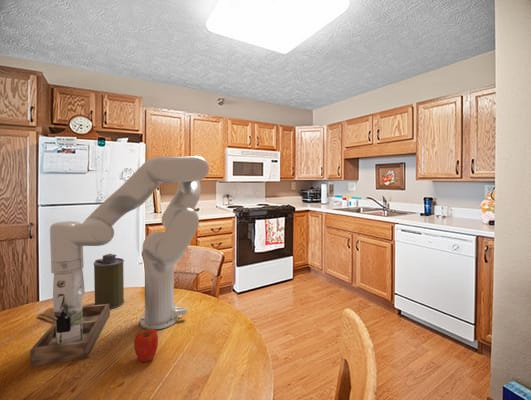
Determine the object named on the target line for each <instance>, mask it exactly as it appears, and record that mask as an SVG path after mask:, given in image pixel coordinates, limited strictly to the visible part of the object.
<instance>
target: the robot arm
mask: <svg viewBox="0 0 531 400" xmlns="http://www.w3.org/2000/svg"><path fill="white" fill-rule="evenodd" d="M209 172H210V166H209V163H208V161H207V160H205V158H204V157H202V156H199V155H195V156H194V155H187V156H186V155H185V156H164V155H163V156H156V157H151V158H149V159H147V160H146V161H145V162H143V164H142V165H141V166H140V167H139V168H138V169H137V170H136V171H134V173H133V174H132V175H130V177H129V178H128V179H127V180H126V181H125V182H124V183H123V184H122V185H121V186H120V187H119V188H118V189H117V190H115V191H114V192H113V193H112V194H111V195H110V196H109V197H107V198H106V200H104V201H103V202H102V203H101V204H100V205H98V206H97V207H96V209H95V210H93V211H92V213H90V214H89V215H88V217H87V218H85V220H84V221H83V222H82V223H81V222H80V221H71V220H70V221H69V220H68V221H58V222H54V223H52V224H51V225H50V227H49V244H50V273H52V274H53V280H52V281H53V282H52V283H53V284H52V285H53V286H52V300H53V301H52V303H53V305H52V306H53V308H54V313H55V319H56V332H57V333H62V332H69V331H70V330H71V321H70V317H69V312H70V307H71V308H72V307H74V306H76V305H77V303H78V292H79V291H80V292H81V293H82V299H83V298H84V297H85V295H86V294H85V293H86V292H85V280H84V278H85V277H84V271H83V269H84V247H100V246H104V245H107V244H109V243H110V242H111V241H113V240H112V239H114V236H115V228H114V227H113V226H114V225H115V224H116V223H117V222H118V221H119V220H120V219H121V218H122V217H123V216H125V215H126V214H128V213H129V212H131V211H134V210H137V209H138V208H140V207H141V206H143V205H144V204H145V203H146V202H147V200H148V199H149V198H150V197H151V195H152V194H153V193H154V192H155V191H156V190H157V189H158V188H159V187H160V186H161V185H162V184H171V183H172V184H173V183H177V184H178V186H177V189H176V192H175V194H174V196H173V198H172V199H171V200H170V202H169V204H168V206H166V209H165V210H164V212H163V213H162V216H161V224H162V226H163V227H164V228H165V229H164V231H153V232H151V233H149V234H148V235H147V236H146V237H145V239H144V241H143V243H142V256H143V265H144V266H143V267H144V315H143V316H141V317H140V320H139V325H140V327H141V328H143V329H145V330H148V329H152V330H155V331H156V330H161V329H165V328H168V327H171V326H172V325H174V324H176V323H177V322H178V320H179V316H181V315H182V316H183V315H187V314H188V309H187V308H184V306H178V307H177V306H175V305H176V304H175V303H174V301H175V300H174V298H175V297H174V290H175V289H174V288H175V286H174V285H175V284H174V282H175V281H174V280H175V278H174V277H175V272H174V269H175V268H174V267H175V266H174V265H175V264H176V263H178V262H179V261H180V260H181V259H182V257H183V256H184V254H185V252H187V249H188V247H189V246H190V243H191V242H192V240H193V238H194V237H195V235H196V232H197V230H198V229H199V222H200V220H199V219H200V217H199V215H198V212H196V210H195V209H196V207H197V204H198V202H199V200H200V197H201V193H202V191H201V190H202V189H201V188H202V186H201V182H200V181H202V180H204V179H205V178H207V176H208V174H209ZM63 304H67V306H64V307H62V306H63ZM62 309H66V313H65V312H64V311H62Z"/></svg>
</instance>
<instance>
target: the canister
mask: <svg viewBox="0 0 531 400" xmlns="http://www.w3.org/2000/svg"><path fill="white" fill-rule="evenodd" d="M124 262H125V260H124V259H123V258H119V257H117V254H114V253H113V254H112V253H107V254H104V255H102V258H99V259H95V260H94V262H93V267H94V268H93V272H94V273H93V275H94V276H93V277H94V279H93V280H94V281H93V282H94V285H93V286H94V287H93V288H94V305H102V304H110V310H113V309H116V308H120V307H121V306H122V305H123V304H124V303H125V299H124V297H125V296H124V295H125V292H124V289H125V287H124Z"/></svg>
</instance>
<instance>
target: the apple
mask: <svg viewBox="0 0 531 400" xmlns="http://www.w3.org/2000/svg"><path fill="white" fill-rule="evenodd" d="M133 339H134V340H133V347H134V353H135V355H136V358H137V359H138V360H139V361H141V362H143V363H147V362H150V361H151V360H153V359H154V357H155V356H156V353H157V349H158V344H159V335H158V332H157V331H156V329H155V330H152V329H145V330H142V331H140V332H138V333H136V335H135V337H134V338H133Z"/></svg>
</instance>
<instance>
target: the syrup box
mask: <svg viewBox="0 0 531 400" xmlns="http://www.w3.org/2000/svg"><path fill="white" fill-rule="evenodd" d="M64 306H67V304H63V306H62V307H64ZM82 306H83V298H82V293H81V292H80V291H79V292H78V303H77V305H76V306H74V307H72V308H71V307H70V312H69V317H70V321H71V330H70V331H69V332H62V333H57V332H56V340H57V343H58V344H64V343H72V342H78V341H81V340H83V323H82ZM62 311H64V312H65V313H66V309H62Z"/></svg>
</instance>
